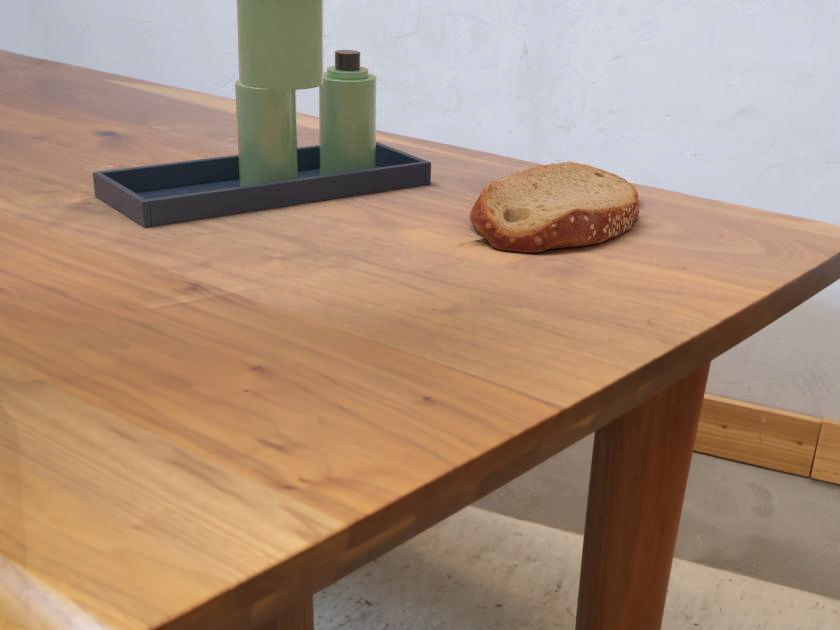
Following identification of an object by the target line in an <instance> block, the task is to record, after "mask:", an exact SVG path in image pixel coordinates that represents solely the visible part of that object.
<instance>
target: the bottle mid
mask: <svg viewBox="0 0 840 630" xmlns="http://www.w3.org/2000/svg"><path fill="white" fill-rule="evenodd" d="M234 90H235V91H234V93H235V110H236V112H235V113H236V115H235V116H236V133H237V134H236V135H237V137H236V138H237V155H238V159H239V181H240V187H241V186H248V185H255V184H263V183H270V182H277V181H285V180H292V179H298V157H297V148H298V116H297V90H275V89H264V88H257V87H251V86H247V85H245V84H242V83H241V82H240V81H239V79H238V80H236V81H235V82H234Z"/></svg>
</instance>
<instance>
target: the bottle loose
mask: <svg viewBox="0 0 840 630" xmlns="http://www.w3.org/2000/svg"><path fill="white" fill-rule="evenodd" d="M236 23H237V25H236V26H237V51H238V52H237V53H238V54H237V56H238V58H237V59H238V80H239V81H240V82H241V83H242V84H245V85H247V86H251V87H257V88H264V89H275V90H296V91H299V90H300V91H301V90H309V89H314V88H315V89H316V88H319V86H321V85H322V84H323V73H324V0H236Z"/></svg>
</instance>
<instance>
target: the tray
mask: <svg viewBox="0 0 840 630" xmlns="http://www.w3.org/2000/svg"><path fill="white" fill-rule="evenodd" d="M297 157H298V179H292V180H285V181H277V182H270V183H263V184H255V185H248V186H241V187H240V181H239V159H238V154H233V155H225V156H217V157H209V158H199V159H192V160H182V161H174V162H166V163H158V164H150V165H142V166H135V167H126V168H116V169H107V170H100V171H92V180H93V190H94V196H95V198H97V199H98V200H99V201H101V202H103V203H104V204H106V205H107V206H109V207H110V208H112V209H113V210H115V211H117V212H118V213H120V214H121V215H123V216H124V217H126V218H128V219H130V221H132V222H134V223H136V224H137V225H139V226H140V227H142V228H144V229H148V228H155V227H162V226H169V225H176V224H181V223H188V222H194V221H202V220H208V219H214V218H221V217H228V216H235V215H241V214H247V213H254V212H261V211H268V210H275V209H280V208H281V209H282V208H288V207H294V206H301V205H309V204H314V203H320V202H326V201H327V202H329V201H332V200H333V201H334V200H335V201H336V200H341V199H346V198H348V199H349V198H353V197H360V196H367V195H368V196H369V195H372V194H373V195H375V194H381V193H388V192H394V191H400V190H405V189H406V190H408V189H413V188H420V187H427V186H431V183H432V180H431V179H432V162H431V161H429V160H426V159H423V158H421V157H418V156H415V155H413V154H410V153H408V152H404V151H402V150H399V149H397V148H394V147H391V146H389V145H386V144H384V143H382V142H379V141H376V167H375V168H372V169H365V170H358V171H350V172H343V173H336V174H328V175H321V176H320V144H316V145H309V146H308V145H307V146H300V147H297Z"/></svg>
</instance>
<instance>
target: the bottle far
mask: <svg viewBox="0 0 840 630" xmlns="http://www.w3.org/2000/svg"><path fill="white" fill-rule="evenodd" d="M318 123H319V124H318V133H319V135H318V137H319V140H318V141H319V144H318V145H320V176H321V175H328V174H336V173H343V172H350V171H358V170H365V169H372V168H375V167H376V142H377V76H376V74H372V73H369V68H367V67H364V66H361V52H360V51H359V50H353V49H339V50H338V49H337V50H335V51H334V65H331V66H328V67H326V71H325V72H323V84H322V85H321V86H318Z"/></svg>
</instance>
